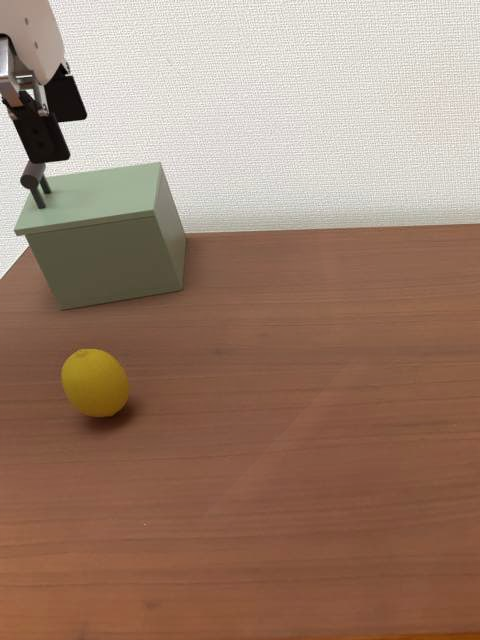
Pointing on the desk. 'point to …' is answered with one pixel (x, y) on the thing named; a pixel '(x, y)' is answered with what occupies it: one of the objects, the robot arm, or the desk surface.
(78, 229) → the chest
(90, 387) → the lemon
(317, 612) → the desk surface
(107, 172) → the lid
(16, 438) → the desk surface
